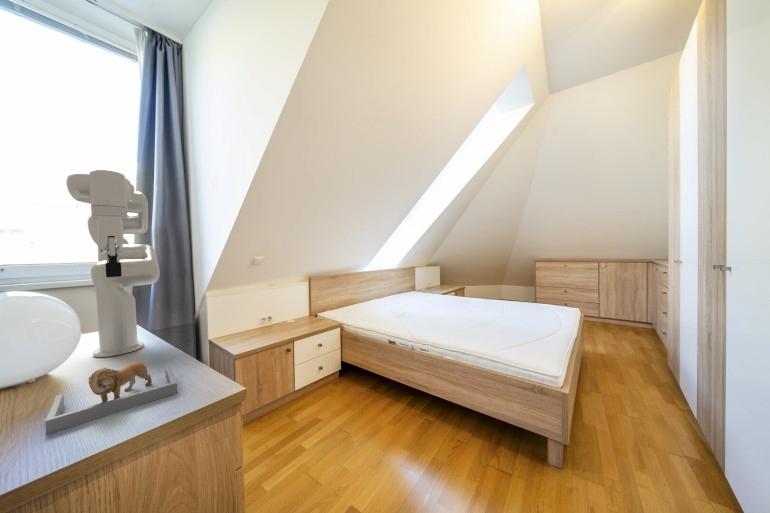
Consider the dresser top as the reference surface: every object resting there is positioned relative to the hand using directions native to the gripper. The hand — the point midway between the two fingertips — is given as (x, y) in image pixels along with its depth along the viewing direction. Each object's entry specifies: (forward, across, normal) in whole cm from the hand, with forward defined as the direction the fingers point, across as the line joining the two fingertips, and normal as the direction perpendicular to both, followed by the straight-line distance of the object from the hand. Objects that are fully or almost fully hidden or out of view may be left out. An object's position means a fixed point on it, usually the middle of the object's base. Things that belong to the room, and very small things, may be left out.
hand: (114, 276), depth 80 cm
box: (+27, +24, 0) cm, 36 cm away
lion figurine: (+27, +24, +1) cm, 36 cm away
